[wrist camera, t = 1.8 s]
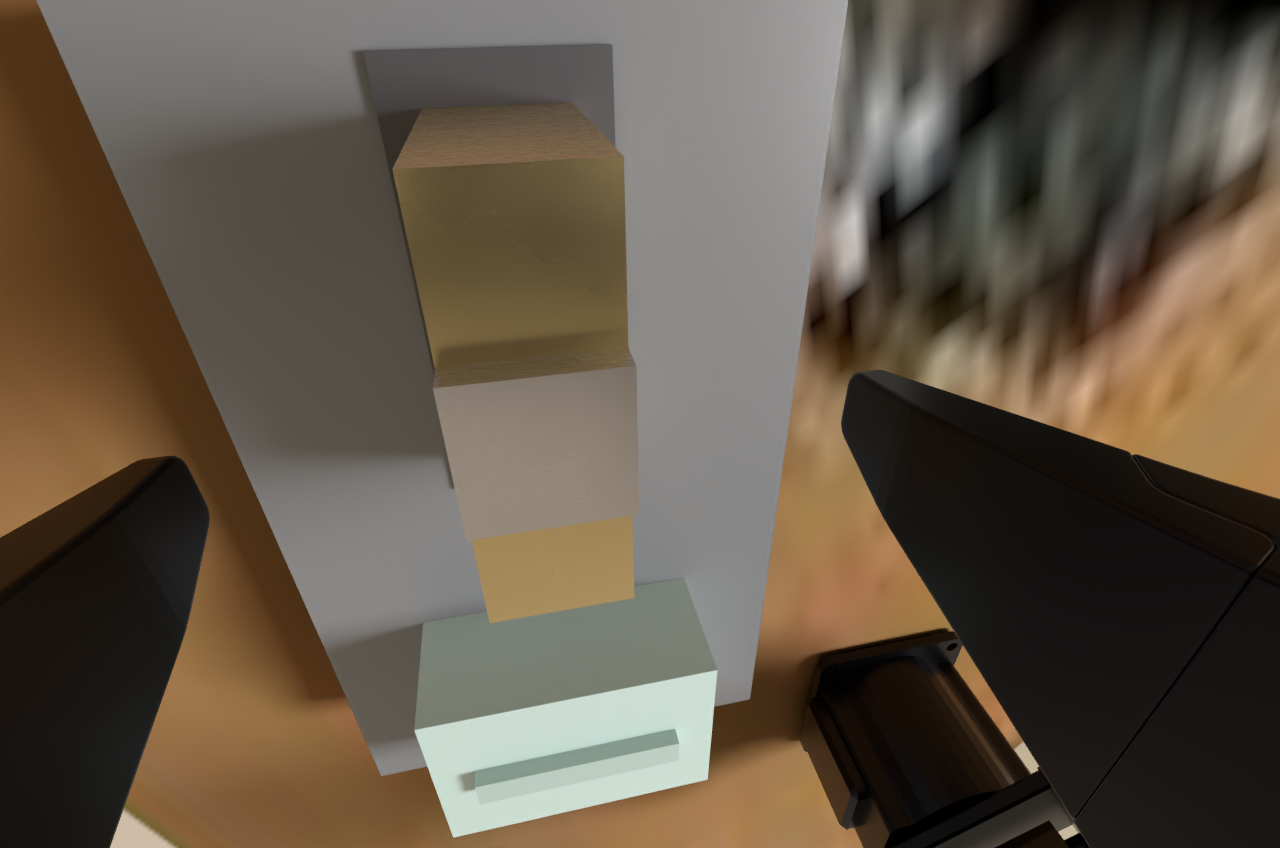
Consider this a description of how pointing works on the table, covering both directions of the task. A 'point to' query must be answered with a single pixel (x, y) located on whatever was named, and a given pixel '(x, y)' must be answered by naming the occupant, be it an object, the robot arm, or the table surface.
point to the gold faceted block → (529, 345)
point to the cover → (565, 707)
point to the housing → (387, 289)
